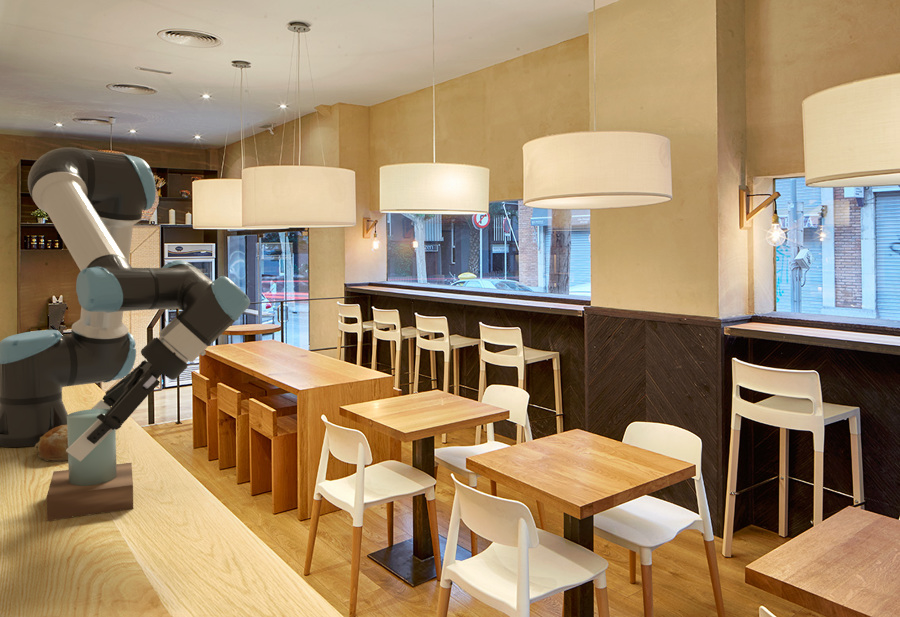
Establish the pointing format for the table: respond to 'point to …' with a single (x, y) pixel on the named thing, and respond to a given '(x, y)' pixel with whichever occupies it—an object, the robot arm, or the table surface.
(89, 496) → the pedestal
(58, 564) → the table surface
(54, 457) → the bread roll
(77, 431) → the dome-topped cylinder
